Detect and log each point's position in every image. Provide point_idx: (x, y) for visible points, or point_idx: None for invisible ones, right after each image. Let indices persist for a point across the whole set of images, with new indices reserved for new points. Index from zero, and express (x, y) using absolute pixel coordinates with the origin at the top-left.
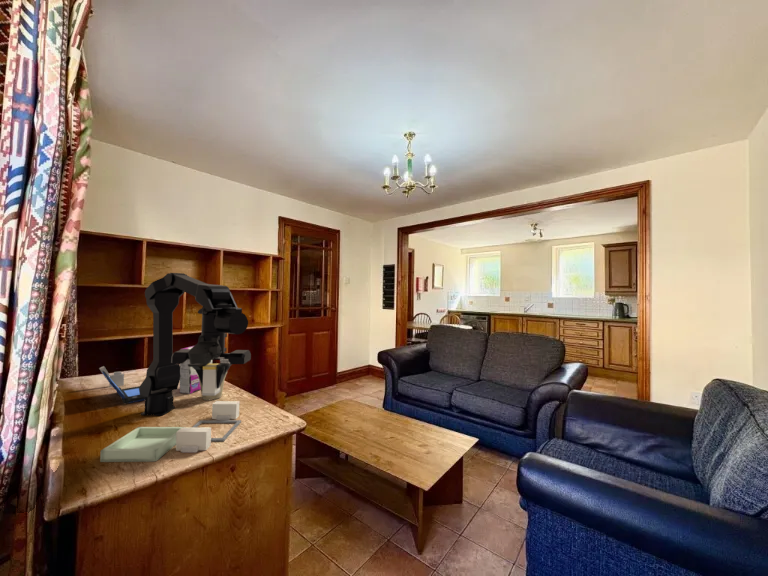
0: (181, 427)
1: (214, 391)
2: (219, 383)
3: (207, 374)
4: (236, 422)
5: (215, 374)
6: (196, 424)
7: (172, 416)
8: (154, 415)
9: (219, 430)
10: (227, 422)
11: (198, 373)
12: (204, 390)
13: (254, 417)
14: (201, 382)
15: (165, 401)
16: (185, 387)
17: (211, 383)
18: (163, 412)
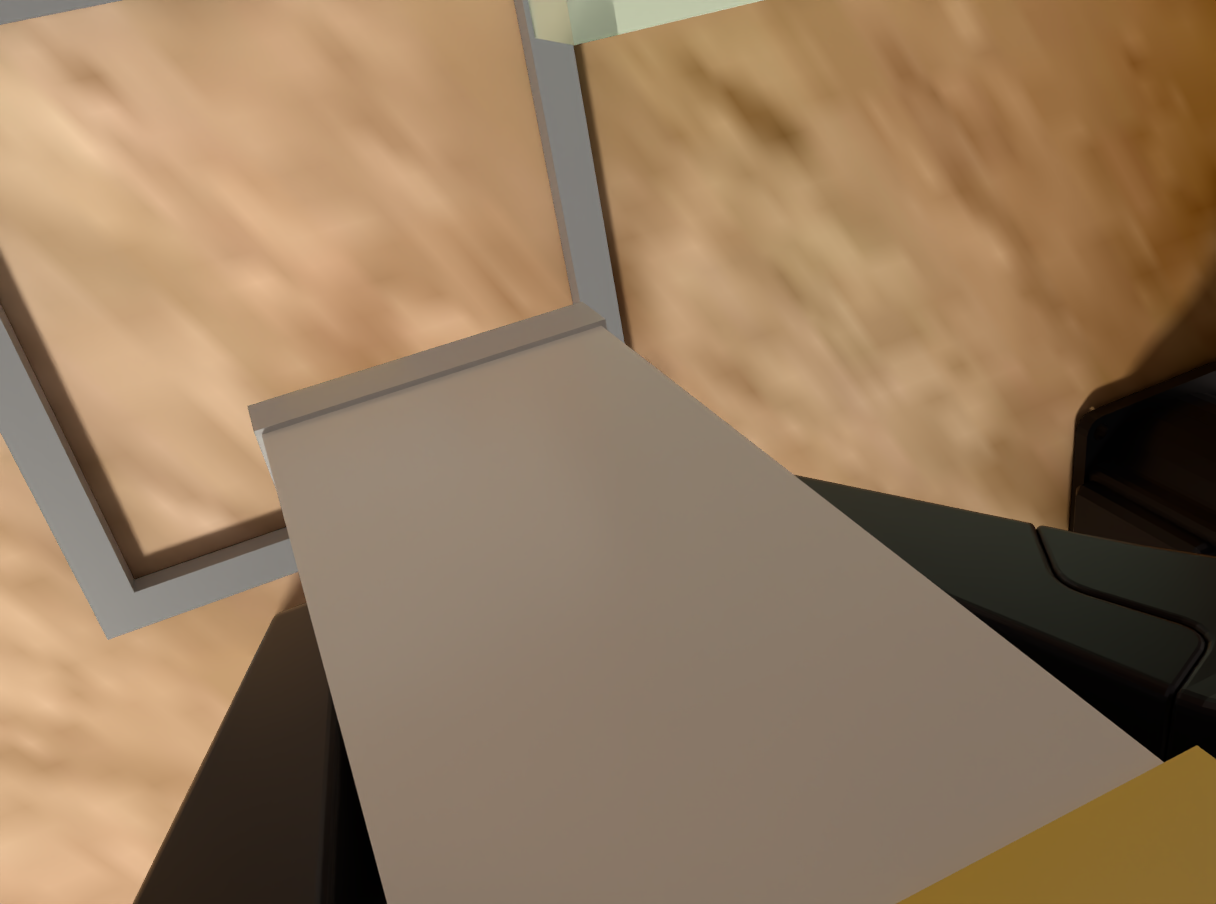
0: (623, 14)
1: (282, 457)
2: (228, 713)
3: (773, 685)
4: (119, 564)
5: (378, 870)
6: None
7: (985, 444)
8: (1141, 391)
9: (206, 321)
10: (276, 536)
11: (1172, 571)
12: (582, 370)
13: (36, 795)
14: (827, 485)
15: (1189, 520)
16: None
17: (442, 540)
18: (1099, 455)
